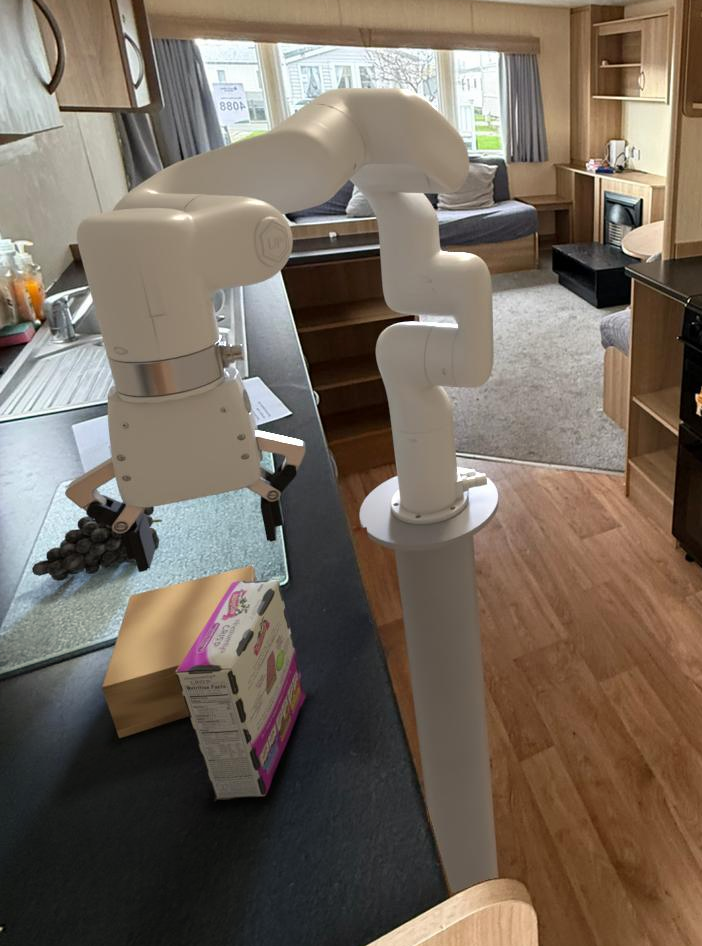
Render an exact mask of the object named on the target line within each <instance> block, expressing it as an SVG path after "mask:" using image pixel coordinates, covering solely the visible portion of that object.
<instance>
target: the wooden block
mask: <svg viewBox="0 0 702 946" xmlns="http://www.w3.org/2000/svg"><path fill="white" fill-rule="evenodd" d="M238 581H246V582H249V581H258V579H257V575H256V569H255V565H253V564H252V565H248V566H244V567H240V568H235V569H232V570H228V571H224V572H219V573H216V574H212V575H207V576H204V577H199V578H195V579H191V580H187V581H183V582H179V583H175V584H171V585H167V586H163V587H159V588H155V589H151V590H147V591H142V592H139V593H135V594H130V596H129V598H128V603H127V606H126V608H125V612H124V615H123V617H122V621H121V625H120V628H119V631H118V634H117V638H116V640H115V644H114V647H113V651H112V653H111V656H110V657H111V658H110V660H109V663H108V667H107V669H106V673H105V676H104V679H103V682H102V685H101V689H102V691H103V695H104V698H105V700H106V704H107V707H108V710H109V713H110V716H111V718H112V721H113V724H114V727H115V730H116V733H117V736H118V738H119V739H122V738H125V737H128V736H131V735H134V734H138V733H140V732H144V731H147V730H150V729H153V728H156V727H159V726H162V725H165V724H169V723H172V722H175V721H178V720H182V719H185V718H187V717H188V718H189V717H190V716H189V712H188V709H187V706H186V703H185V700H184V696H183V694H182V690H181V687H180V684H179V681H178V678H177V675H176V673H175V672H176V670H177V669H178V667H179V665H180V664H181V662H182V661H183V659H184V658H185V656H186V654H187V653H188V651H189V650H190V648H191V647H192V645H193V643H194V642H195V640H196V639H197V637H198V636H199V634H200V633H201V631H202V629H203V628H204V626H205V625H206V623H207V621H208V620H209V618H210V617H211V615H212V614H213V612H214V611H215V609H216V607H217V606H218V604H219V603H220V601H221V599H222V598H223V596H224V595H225V593H226V591H227V590H228V588H229V587H230V585H231V583H232V582H238Z"/></svg>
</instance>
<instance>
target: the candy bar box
mask: <svg viewBox="0 0 702 946" xmlns="http://www.w3.org/2000/svg"><path fill="white" fill-rule="evenodd" d="M294 645H295V644H294V642H293V637H292V632H291V627H290V624H289V618H288V615H287V611H286V606H285V601H284V596H283V593H282V588H281V584H280V580H279V579H266V580H257V581H249V582H246V581H238V582H232V583H231V585H230V587H229V588H228V590H227V591H226V593H225V595H224V596H223V598H222V599H221V601H220V603H219V604H218V606H217V607H216V609H215V611H214V612H213V614H212V615H211V617H210V618H209V620H208V621H207V623H206V625H205V626H204V628H203V629H202V631H201V633H200V634H199V636H198V637H197V639H196V640H195V642H194V643H193V645H192V647H191V648H190V650H189V651H188V653H187V654H186V656H185V658H184V659H183V661H182V662H181V664H180V665H179V667H178V669H177V670H176V672H175V673H176V675H177V678H178V681H179V684H180V687H181V690H182V694H183V696H184V700H185V703H186V706H187V709H188V712H189V716H188V717H189V718H190V721H191V724H192V728H193V730H194V733H195V736H196V737H195V738H196V740H197V743H198V747H199V750H200V753H201V756H202V759H203V762H204V765H205V768H206V771H207V774H208V775H207V776H208V778H209V781H210V784H211V787H212V790H213V794H214V797H215V799H216V800H231V799H240V798H241V799H242V798H260V797H261V798H262V797H266V796H267V795H268V792H269V789H270V788H271V785H272V782H273V779H274V777H275V774H276V772H277V769H278V766H279V764H280V762H281V759H282V757H283V754H284V751H285V749H286V746H287V743H288V741H289V739H290V736H291V734H292V733H293V730H294V727H295V724H296V721H297V719H298V717H299V714H300V712H301V710H302V706H303V704H304V702H305V699H306V693H305V689H304V685H303V680H302V677H301V676H302V675H301V672H300V668H299V664H298V659H297V655H296V649H295V646H294Z"/></svg>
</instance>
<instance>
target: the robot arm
mask: <svg viewBox="0 0 702 946" xmlns="http://www.w3.org/2000/svg"><path fill="white" fill-rule="evenodd" d="M469 173H470V157H469V152H468V147H467V145H466V142H465V140H464V138H463V137H462V135H461V134H460V132H459V131H458V130H457V129H456V127H454V125H452V123H451V122H450V121H449V120H448V119H447V118H446V117H445V115H443V113H441V112H440V110H439V109H438V108H436V107H435V106H434V105H433V104H432V103H431V102H430V101H429V100H427V99H426V98H425V97H423V96H421V94H419V93H417V92H415V91H413V90H410V89H407V88H400V87H395V88H394V87H392V88H391V87H390V88H389V87H387V88H385V87H378V88H377V87H375V88H374V87H373V88H372V87H341V88H340V87H339V88H334V89H329V90H327V91H325V92H323V93H320V94H319V95H318V96H316V97H315V98H313V99H312V100H311V101H309V102H307V103H306V104H305V105H303V106H302V107H301V108H299V109H298V110H296V111H295V112H294V113H292V114H291V115H289V116H288V117H287V118H286V119H284V120H283V121H281V122H280V123H279V124H277V125H276V126H274V127H273V128H272V129H271V130H269V131H267V132H264V133H260V134H258V135H257V134H256V135H254V136H251V137H247V138H244V139H240V140H238V141H235V142H232V143H230V144H227V145H224V146H221V147H218V148H215V149H212V150H208V151H205V152H202V153H199V154H196V155H193V156H191V157H188V158H185V159H182V160H180V161H178V162H175V163H173V164H171V165H169V166H167V167H165V168H164V169H161V170H160V171H158V172H157V173H155V174H153V175H152V176H150V177H149V178H147V179H145V180H144V181H143V182H141V183H140V184H138V185H137V186H135V187H134V188H132V189H130V190H129V191H128V192H127V193H126V194H124V196H122V197H121V199H120V200H119V201H118V202H117V203H116V204H115V205H114V207H113V209H112V210H109V211H105V212H99V213H95V214H92V215H90V216H88V217H85V218H84V219H83V220H82V221H81V222H80V223H79V225H78V227H77V230H76V241H77V246H78V250H79V254H80V257H81V262H82V266H83V269H84V273H85V277H86V280H87V284H88V288H89V292H90V297H91V300H92V304H93V307H94V311H95V315H96V318H97V322H98V326H99V330H100V334H101V338H102V341H103V346H104V349H105V353H106V355H107V361H108V364H109V369H110V372H111V376H112V379H113V382H114V385H113V386H111V387H110V388H109V390H108V394H107V426H108V435H109V436H108V437H109V445H110V452H111V453H110V454H111V457H109V458H108V459H106V460H105V461H103V462H101V463H100V464H98V465H96V466H95V467H93V468H92V469H89V470H88V471H87V472H85V473H84V474H82V475H80V476H78V477H77V478H75V479H74V480H72V481H71V482H70V483H69V484H68V486H67V488H66V490H65V492H64V495H65V496H66V498H67V499H69V500H70V501H71V502H73V503H74V504H75V505H76V506H77V507H79V508H80V509H81V510H84V511H85V514H86V516H88V517H90V518H92V519H95V520H97V521H100V522H102V523H105V524H107V525H109V526H112V529H113V531H114V532H116V533H121V536H122V539H123V543H124V546H125V550H126V554H127V557H128V559H129V560H130V559H135V560H136V561H135V564H136V567H137V571H138V572H139V573H142V572H147V571H148V569H150V568H151V565H152V563H153V558H154V555H155V552H156V550H155V546H154V542H153V538H152V534H151V531H150V528H151V527H149V523H148V519H147V515H146V514H144V513H143V510H144V508H148V507H154V508H155V507H160V506H165V505H170V504H171V505H172V504H176V503H181V502H187V501H191V500H195V499H201V498H206V497H211V496H215V495H221V494H225V493H230V492H233V491H235V492H236V491H239V490H244V489H245V488H246V489H248V490H250V491H251V492H253V493H254V494H256V495H257V496H259V497H260V511H261V516H262V522H263V527H264V533H265V537H266V541H267V542H270V543H272V542H275V541H277V531H278V530H277V529H278V527H281V526H284V523H285V521H284V513H283V508H282V502H281V496H282V494H283V492H284V490H285V489H286V488H287V487H288V486H289V485H290V484H291V482H293V480H294V479H295V478H296V476H297V475H298V473H297V472H298V470H299V467H300V466H301V464H302V462H303V459H304V457H305V454H306V452H307V449H306V443H305V441H304V440H301V439H297V438H293V437H288V436H284V435H280V434H275V433H271V432H266V431H263V430H259V429H258V425H257V421H256V417H255V413H254V410H253V407H252V403H251V400H250V397H249V394H248V391H247V388H246V385H245V384H244V381H243V379H242V376H241V374H240V372H239V370H238V369H237V368H236V367H233V366H230V364H235V362H242V361H245V352H244V347H243V344H234V345H233V344H232V343H230V344H227V342H226V341H223V337H222V335H221V334H220V329H219V324H218V318H217V314H216V309H215V304H214V299H213V295H214V293H215V292H218V291H222V290H227V289H233V288H240V287H246V286H252V285H255V284H256V285H257V284H259V283H263V282H265V281H268V280H269V279H271V278H273V277H275V276H276V275H277V274H278V273H280V271H282V270H283V268H284V267H285V266H286V264H287V263H288V261H289V259H290V257H291V254H292V251H293V246H294V245H293V243H294V240H293V233H292V229H291V226H290V223H289V222H288V220H287V218H286V217H285V216H284V215H287V214H292V213H296V212H300V211H301V212H302V211H304V210H307V209H308V210H309V209H312V208H315V207H318V206H321V205H323V204H325V203H327V202H329V201H330V200H331V199H332V198H333V197H334V196H335V195H336V194H338V192H339V191H340V190H341V189H342V188H343V187H344V186H345V185H346V184H347V182H348V181H350V182H351V183H352V184H353V185H354V186H355V187H356V189H357V190H358V191H359V192H360V193H361V195H363V196H364V198H365V200H366V201H367V203H368V204H369V206H370V207H371V209H372V211H373V213H374V216H375V219H376V223H377V229H378V238H379V239H378V240H379V255H380V270H381V283H382V285H381V286H382V293H383V297H384V302H385V304H386V305H387V307H388V308H389V309H390V310H392V311H393V312H396V313H398V314H405V315H412V316H425V317H426V316H428V317H444V318H445V317H447V318H453V319H454V321H455V324H454V323H453V324H452V323H440V322H425V321H424V322H423V321H420V322H419V321H403V322H397V323H393V324H392V325H389V326H387V327H386V328H385V329H383V330H382V331H381V333H380V334H379V336H378V338H377V340H376V345H375V358H376V363H377V367H378V370H379V373H380V376H381V379H382V382H383V385H384V388H385V393H386V397H387V402H388V408H389V417H390V424H391V425H390V426H391V434H392V441H393V442H392V443H393V450H394V458H395V460H394V461H395V469H396V476H397V477H398V485H399V490H398V491H397V492H396V493H395V494H394V495H393V497H392V499H391V510H392V513H393V515H394V516H395V517H396V518H397V519H399V520H401V521H403V522H406V523H410V524H419V525H424V524H433V523H438V522H441V521H445V520H447V519H449V518H452V517H453V516H455V515H457V514H458V513H459V512H461V511H462V510H463V509H464V508H465V506H466V505H467V503H468V499H469V494H468V491H469V488H473V487H479V486H483V485H487V478H488V477H487V474H486V473H481V474H480V475H476V472H477V471H476V470H475V469H470V471H467V472H463V473H461V471H460V472H458V469H457V467H458V463H457V453H456V452H457V451H456V439H455V427H454V413H453V406H452V402H451V399H450V396H449V394H448V392H447V391H446V390H445V388H448V387H449V388H467V389H471V388H472V389H473V388H478V387H481V386H484V385H485V384H486V383H488V381H489V379H490V378H491V375H492V372H493V367H494V357H495V356H494V353H495V352H494V350H495V348H494V345H495V344H494V312H493V311H494V310H493V309H494V308H493V307H494V305H493V284H492V277H491V273H490V270H489V268H488V265H487V263H486V262H485V261H484V260H483V258H481V257H480V256H478V255H476V254H473V253H468V252H453V251H452V252H450V251H449V252H448V251H443V250H442V248H441V243H440V241H441V239H440V224H439V222H440V221H439V218H438V213H437V212H436V210H435V208H434V206H433V204H432V203H431V201H430V200H429V198H428V197H427V196H426V195H425V194H436V195H443V194H447V195H448V194H453V193H455V192H458V191H459V190H460V189H461V188H462V187H463V186H464V185H465V184H466V182H467V180H468V176H469ZM444 387H445V388H444ZM263 452H266V453H271V454H275V455H280V456H284V460H283V461H282V463H281V464H280V465H279V467H277V469H276V470H275V471H272V470H270V469H269V468H267V467H266V466H264V465H262V464H261V462H263V457H264V455H263ZM475 471H476V472H475ZM486 477H487V478H486ZM113 479H115V482H116V486H117V489H118V493H119V496H120V497H121V500H122V501H119V500H116V499H115V498H111V497H109V496H107V495H104V494H101V492H100V491H99V490H98V488H100V487H102V486H103V485H105V484H107V483H108V482H110V481H111V480H113ZM122 502H123V503H122Z"/></svg>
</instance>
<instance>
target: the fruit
mask: <svg viewBox="0 0 702 946" xmlns="http://www.w3.org/2000/svg"><path fill="white" fill-rule="evenodd" d="M121 503H123V501H121ZM154 512H155V507H148V508H144V510H143V513H144V514H146V515H147V519H148V523H149V527H150V531H151V534H152V538H153V542H154V546H155V551H156V550H157V549H159V547H160V537H159V536H158V532H157V531H156V529H155V528H154V527H152V525H153V524H154V523H161V522H163V520H162V519H161V518H160V519H153V516H151V515H153V514H154ZM76 526H77V527H78V528H77V529H70V530H69V531H67V532H66V533H65V535H64V539H63V540H61V542H60V543H59V546H58V547H57V546H55V547H53V548H50V549H49V550H48V551H47V552H46V555H45V557H46V559H45V560H39V561H38V562H36V563H34V564H33V566H32V567H31V569H32V570H31V571H32V572H31V573H32V574H33V575H35V576H39V577H41V576H44V575H47V574H49V575H50V577H51V578H52V579H53V580H54V581H58V582H59V581H64V580H67V578H68V577H69V575H71V576H74V575H75V576H76V575H78V574H80V573H83V572H85V574H87V575H95V574H97V573H98V572H99V570H100V567H101V568H102V569H108V568H111V567H112V566H113V565H122V564H124V563H128V564H132V563H134V562H136V560H135V559H130V560H129V559H128V557H127V554H126V550H125V546H124V543H123V539H122V536H121V533H116V532H114V531H113V529H112V526H109V525H107V524H105V523H102V522H100V521H97V520H95V519H92V518H90V517H88V515H86V516H83V517H80V519H78V521H77V524H76Z"/></svg>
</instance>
